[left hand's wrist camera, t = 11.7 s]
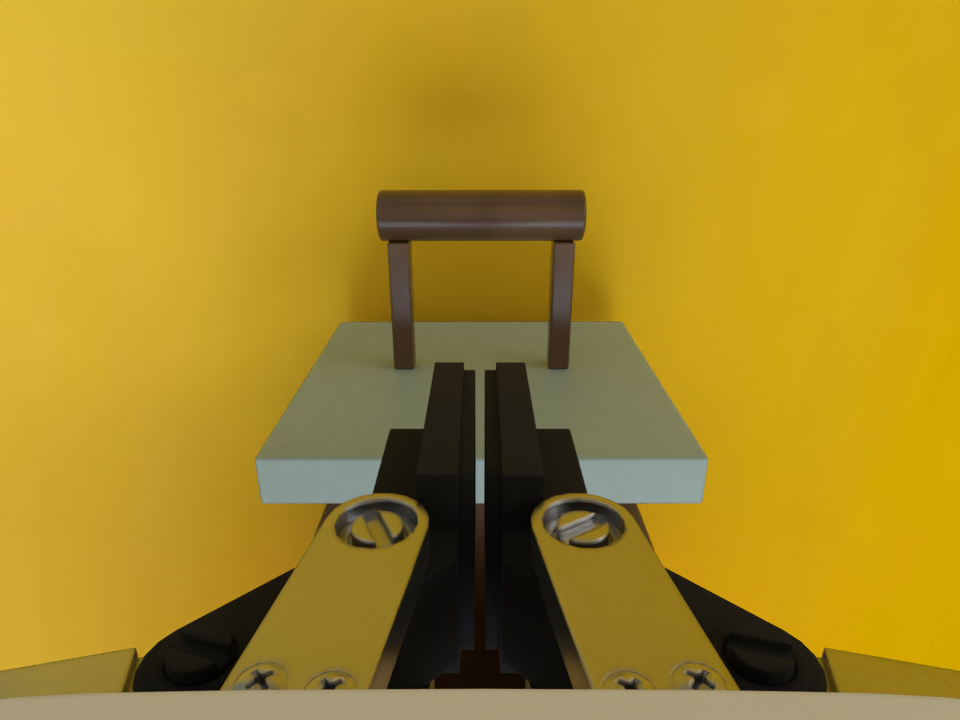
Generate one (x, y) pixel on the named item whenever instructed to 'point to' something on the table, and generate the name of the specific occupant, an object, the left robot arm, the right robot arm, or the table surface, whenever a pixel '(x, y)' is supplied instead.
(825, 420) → the table surface
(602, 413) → the drawer
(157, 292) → the table surface
